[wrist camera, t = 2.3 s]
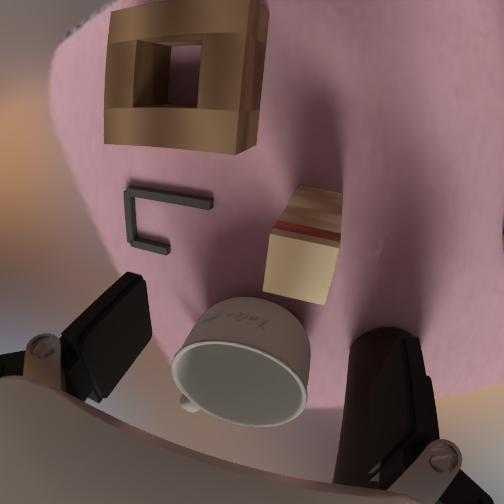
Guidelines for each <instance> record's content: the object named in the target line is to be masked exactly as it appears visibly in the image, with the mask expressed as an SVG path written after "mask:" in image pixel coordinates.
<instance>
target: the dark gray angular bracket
mask: <svg viewBox="0 0 504 504" xmlns="http://www.w3.org/2000/svg"><path fill="white" fill-rule="evenodd" d="M126 189H127V190H126V191H124V207H125V220H126V232H127V242H128V243H130V244H131V247H135V248H139V249H143V250H147V251H151V252H155V253H159V254H163V255H168V254H169V253H170V245H167V244H163V243H159V242H155V241H151V240H146V239H142V238H138V237H137V228H136V213H135V197H138V198H144V199H150V200H155V201H161V202H167V203H173V204H179V205H184V206H190V207H195V208H201V209H206V210H210V209H212V208H213V200H214V199H211V198H206V197H200V196H194V195H187V194H181V193H175V192H169V191H162V190H156V189H149V188H142V187H135V186H130V187H128V188H126Z"/></svg>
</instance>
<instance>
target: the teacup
mask: <svg viewBox="0 0 504 504" xmlns="http://www.w3.org/2000/svg"><path fill="white" fill-rule="evenodd" d="M310 358H311V350H310V343H309V339H308V336H307V333H306V331H305V329H304V328H303V326H302V324H301V323H300V322H299V320H298V319H297V318H296V317H295V316H294V315H293V314H291V313H290V312H289V311H288V310H286V309H285V308H283V307H281V306H280V305H278V304H275V303H273V302H271V301H268V300H265V299H261V298H255V297H235V298H230V299H226V300H224V301H221V302H219V303H217V304H215V305H214V306H212V307H211V308H209V309H208V310H207V311H206V312H205V313H204V314H203V315H202V316H201V317H200V319H199V320H198V322H197V323H196V324H195V326H194V327H193V329H192V331H191V332H190V334H189V335H188V337H187V339H186V341H185V342H184V344H183V346H182V348H181V349H180V350H179V351H178V352H177V353H176V354H175V356H174V359H173V361H172V366H171V368H172V375H173V378H174V381H175V382H176V384H177V386H178V388H179V389H180V390H181V391H182V396H181V398H180V404H181V406H182V407H183V408H184V409H186V410H187V411H189V412H196V411H198V410H199V409H202V410H204V411H206V412H207V413H209V414H211V415H213V416H215V417H217V418H219V419H222V420H225V421H227V422H231V423H235V424H239V425H245V426H252V427H255V426H256V427H267V426H275V425H280V424H284V423H286V422H289V421H291V420H293V419H294V418H296V417H297V416H298V415H299V414H300V413H301V412H302V411H303V410H304V408H305V405H306V403H307V385H308V378H309V370H310Z"/></svg>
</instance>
